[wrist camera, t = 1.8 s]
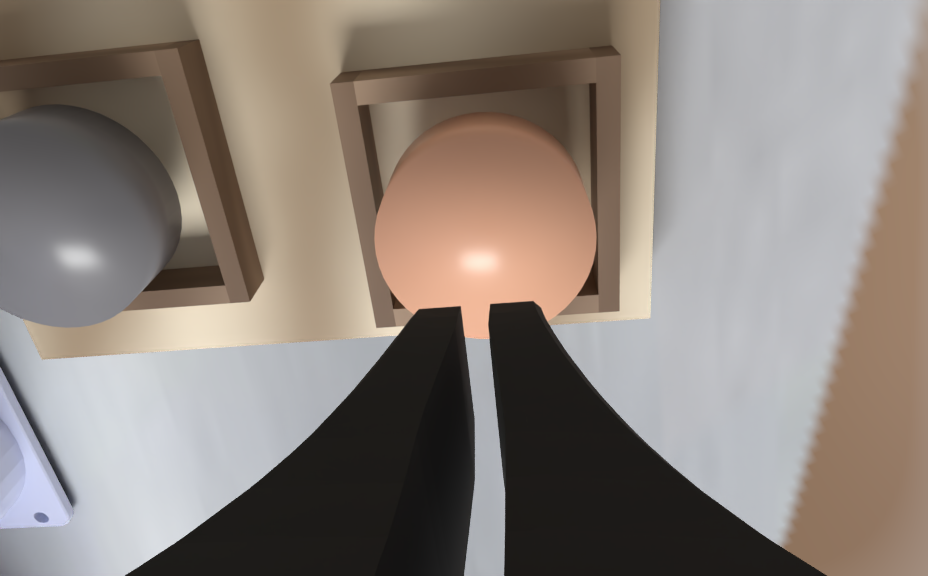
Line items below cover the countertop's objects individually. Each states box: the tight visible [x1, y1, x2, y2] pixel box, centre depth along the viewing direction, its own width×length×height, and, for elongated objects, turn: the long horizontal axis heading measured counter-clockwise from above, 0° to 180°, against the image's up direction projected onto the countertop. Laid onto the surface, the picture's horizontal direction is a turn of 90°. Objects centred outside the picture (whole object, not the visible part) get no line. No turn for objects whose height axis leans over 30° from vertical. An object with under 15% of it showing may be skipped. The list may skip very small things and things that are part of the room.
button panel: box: [0, 0, 660, 359], centre depth 15 cm, size 17×16×3 cm
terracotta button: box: [374, 112, 597, 339], centre depth 14 cm, size 4×4×2 cm
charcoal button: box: [0, 104, 182, 328], centre depth 15 cm, size 4×4×2 cm
